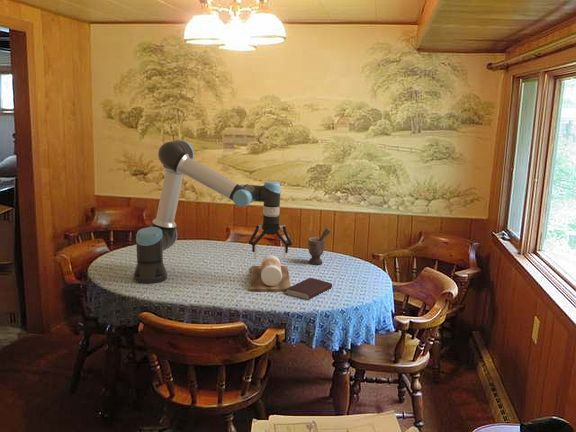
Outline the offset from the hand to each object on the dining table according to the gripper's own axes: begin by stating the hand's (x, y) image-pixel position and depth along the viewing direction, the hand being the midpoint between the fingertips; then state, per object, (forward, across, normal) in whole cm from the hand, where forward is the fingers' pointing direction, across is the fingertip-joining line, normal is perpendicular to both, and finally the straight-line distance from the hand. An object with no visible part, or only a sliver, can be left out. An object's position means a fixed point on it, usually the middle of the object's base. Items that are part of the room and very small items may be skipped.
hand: (269, 259), depth 252 cm
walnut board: (+10, +1, 0) cm, 10 cm away
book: (+10, +18, -17) cm, 26 cm away
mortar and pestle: (+10, +27, +27) cm, 39 cm away
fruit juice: (+4, +1, -15) cm, 16 cm away
